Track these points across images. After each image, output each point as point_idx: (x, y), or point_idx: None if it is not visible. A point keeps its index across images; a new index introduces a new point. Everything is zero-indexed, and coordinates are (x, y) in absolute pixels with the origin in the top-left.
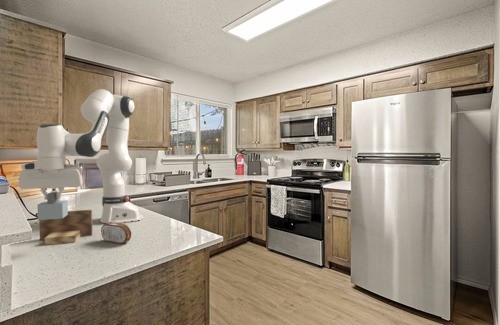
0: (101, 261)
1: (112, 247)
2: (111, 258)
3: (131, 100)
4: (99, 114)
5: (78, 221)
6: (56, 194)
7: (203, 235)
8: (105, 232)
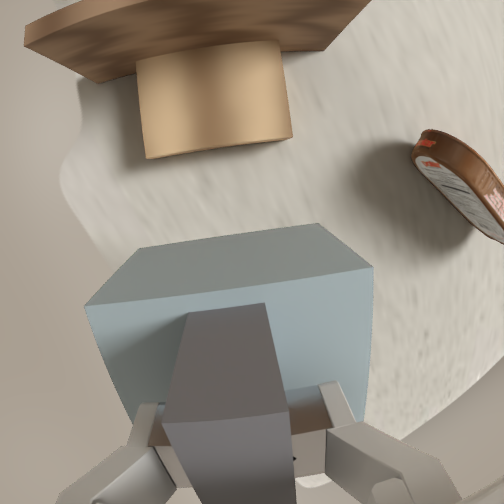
0: (422, 361)
1: (446, 251)
2: (444, 343)
3: None
4: None
5: (276, 19)
6: (303, 463)
7: None
8: (439, 172)
